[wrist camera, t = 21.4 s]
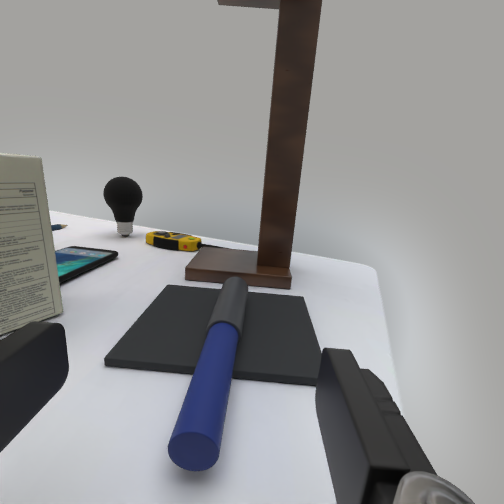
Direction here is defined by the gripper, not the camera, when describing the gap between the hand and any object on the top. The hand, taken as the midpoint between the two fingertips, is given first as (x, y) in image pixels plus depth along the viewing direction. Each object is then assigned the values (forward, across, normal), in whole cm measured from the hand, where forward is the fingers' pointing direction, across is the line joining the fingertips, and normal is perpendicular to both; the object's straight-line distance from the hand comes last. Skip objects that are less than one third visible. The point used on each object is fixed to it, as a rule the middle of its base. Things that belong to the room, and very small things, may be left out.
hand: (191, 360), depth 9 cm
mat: (+13, 0, +6) cm, 15 cm away
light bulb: (+39, +21, +7) cm, 45 cm away
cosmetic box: (+11, +17, +7) cm, 21 cm away
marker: (+9, 0, +5) cm, 10 cm away
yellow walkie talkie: (+35, +9, +7) cm, 37 cm away
